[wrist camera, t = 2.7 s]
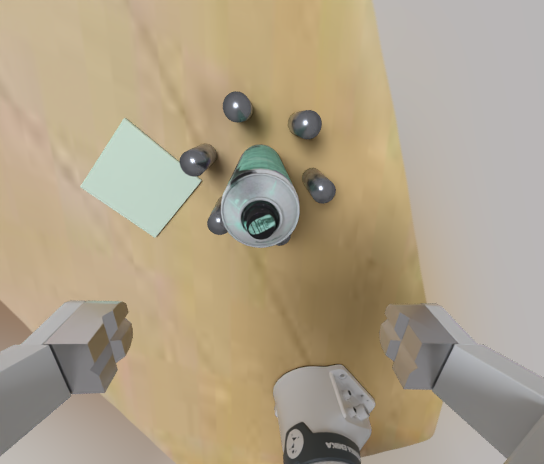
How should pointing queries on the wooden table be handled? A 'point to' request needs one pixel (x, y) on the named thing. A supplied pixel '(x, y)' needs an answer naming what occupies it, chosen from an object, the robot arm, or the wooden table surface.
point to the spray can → (260, 199)
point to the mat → (139, 179)
